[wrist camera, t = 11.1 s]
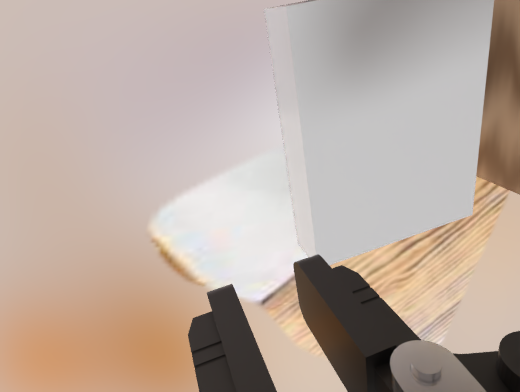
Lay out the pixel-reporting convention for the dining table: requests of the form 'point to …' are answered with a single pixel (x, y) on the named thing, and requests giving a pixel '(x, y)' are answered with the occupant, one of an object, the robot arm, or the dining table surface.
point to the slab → (378, 116)
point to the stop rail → (502, 101)
